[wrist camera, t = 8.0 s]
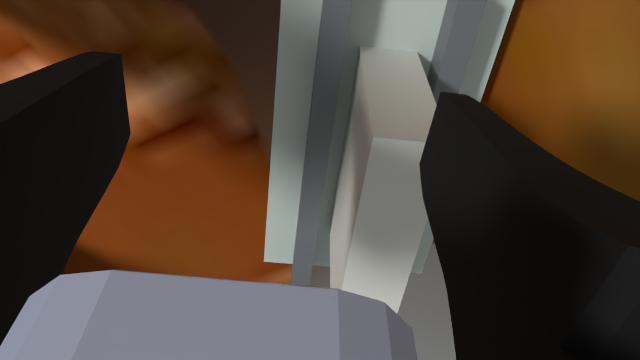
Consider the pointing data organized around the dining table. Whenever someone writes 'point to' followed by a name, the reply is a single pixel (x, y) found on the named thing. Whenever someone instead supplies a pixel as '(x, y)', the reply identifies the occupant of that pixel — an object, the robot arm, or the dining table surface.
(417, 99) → the door panel
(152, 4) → the dining table surface
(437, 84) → the track
